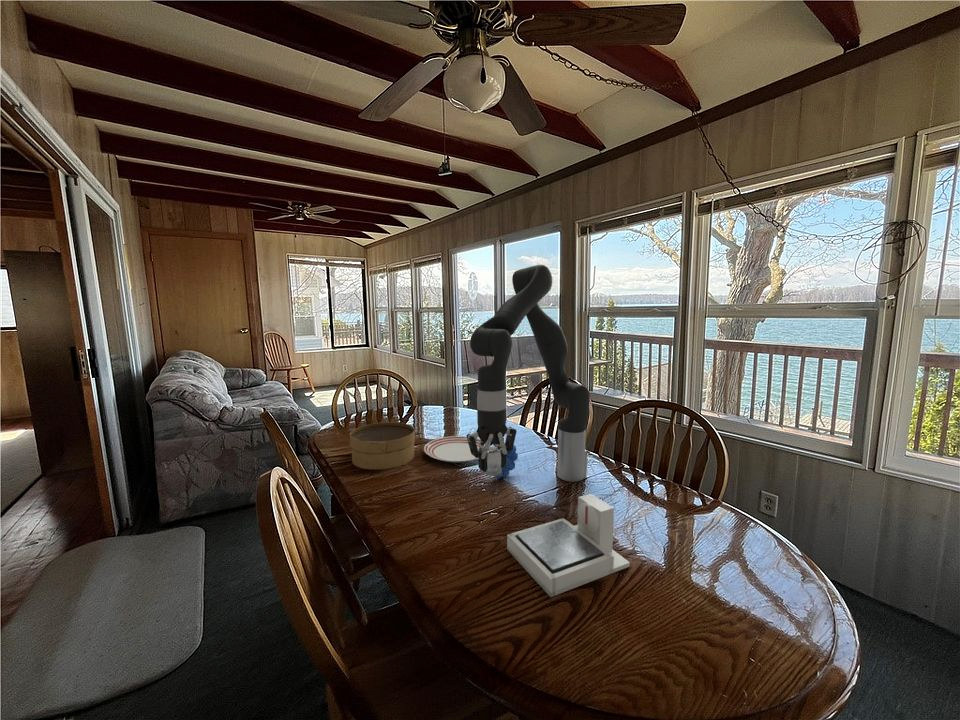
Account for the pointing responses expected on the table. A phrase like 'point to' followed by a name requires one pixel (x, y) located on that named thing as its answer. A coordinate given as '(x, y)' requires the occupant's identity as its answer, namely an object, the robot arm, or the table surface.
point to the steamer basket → (382, 445)
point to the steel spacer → (493, 461)
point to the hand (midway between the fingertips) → (492, 468)
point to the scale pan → (558, 546)
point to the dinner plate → (451, 449)
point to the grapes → (509, 463)
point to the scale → (594, 528)
